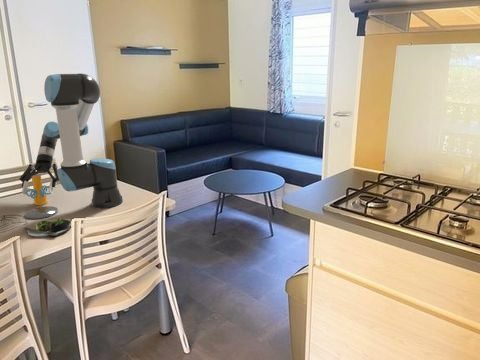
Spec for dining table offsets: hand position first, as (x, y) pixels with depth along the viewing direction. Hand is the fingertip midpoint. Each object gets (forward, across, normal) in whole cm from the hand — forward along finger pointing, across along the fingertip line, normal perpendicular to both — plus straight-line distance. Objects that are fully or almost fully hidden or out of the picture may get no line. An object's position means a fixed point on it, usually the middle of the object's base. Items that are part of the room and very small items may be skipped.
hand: (36, 193), depth 194 cm
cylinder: (+3, 0, -6) cm, 7 cm away
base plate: (+13, -7, +4) cm, 15 cm away
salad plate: (+27, -20, +17) cm, 37 cm away
